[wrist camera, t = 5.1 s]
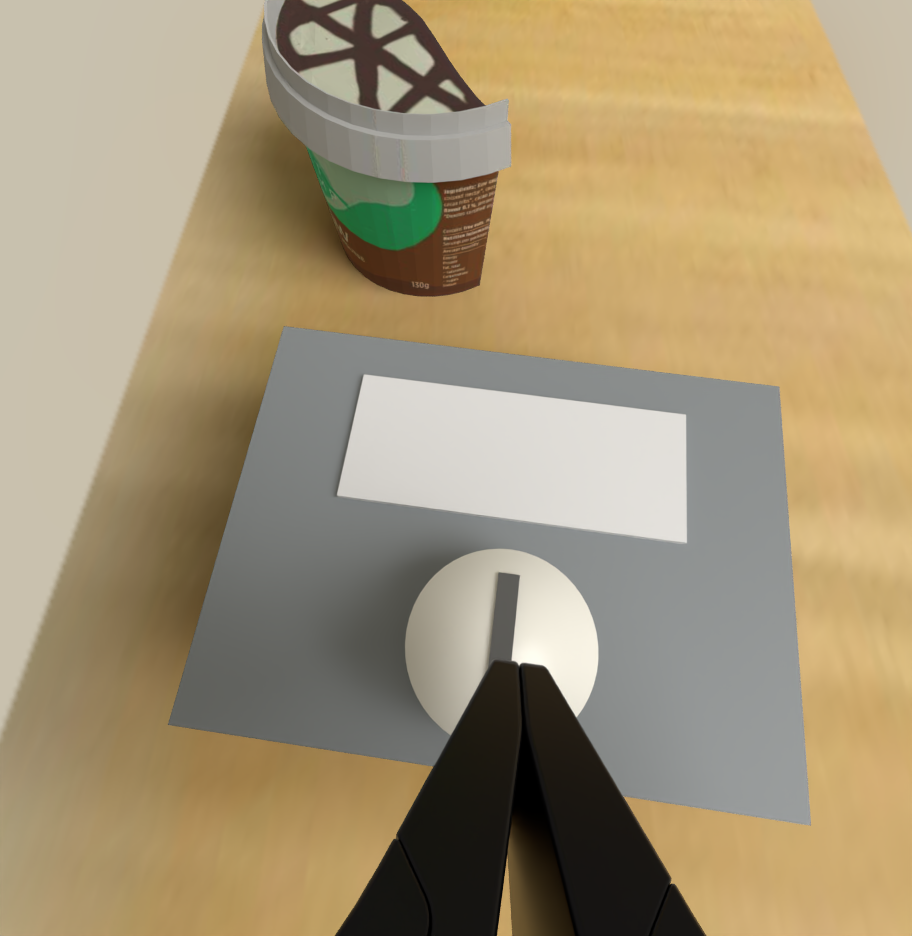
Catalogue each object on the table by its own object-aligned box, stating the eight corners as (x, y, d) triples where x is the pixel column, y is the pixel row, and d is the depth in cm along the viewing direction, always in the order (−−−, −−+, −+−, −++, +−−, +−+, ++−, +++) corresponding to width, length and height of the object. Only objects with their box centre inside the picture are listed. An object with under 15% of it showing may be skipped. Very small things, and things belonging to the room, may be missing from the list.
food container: (278, 185, 29) (195, -43, 20) (381, 144, 30) (348, -92, 21) (382, 360, 25) (340, 182, 16) (495, 307, 27) (517, 110, 17)
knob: (547, 733, 17) (594, 768, 11) (410, 712, 17) (388, 736, 12) (557, 593, 19) (604, 561, 13) (431, 575, 19) (421, 536, 13)
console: (691, 771, 20) (816, 828, 13) (260, 705, 20) (164, 725, 14) (689, 463, 24) (782, 383, 17) (329, 417, 24) (282, 322, 18)
